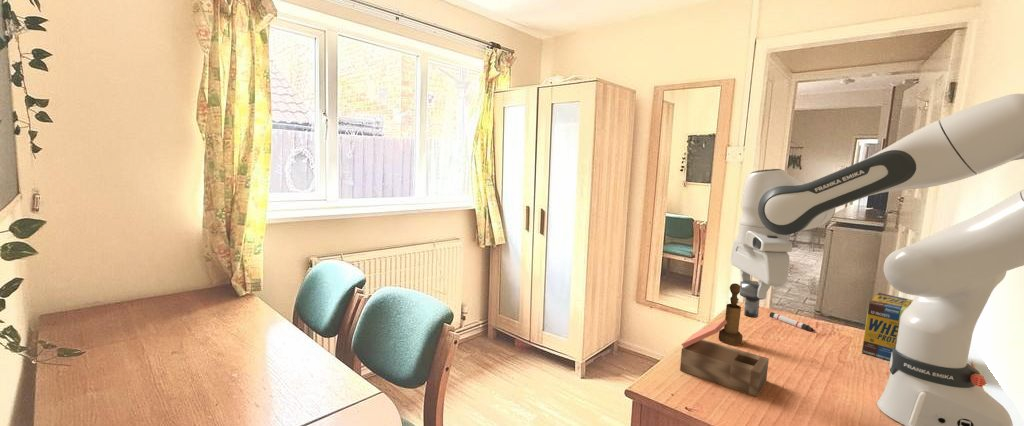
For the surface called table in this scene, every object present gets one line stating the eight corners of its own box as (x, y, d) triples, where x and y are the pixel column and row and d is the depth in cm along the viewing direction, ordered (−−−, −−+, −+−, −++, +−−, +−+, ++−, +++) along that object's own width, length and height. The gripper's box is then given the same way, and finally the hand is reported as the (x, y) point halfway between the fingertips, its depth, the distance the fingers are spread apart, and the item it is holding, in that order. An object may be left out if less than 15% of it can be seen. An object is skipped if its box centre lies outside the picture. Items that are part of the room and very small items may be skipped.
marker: (769, 317, 154) (769, 312, 153) (772, 317, 154) (773, 311, 154) (813, 334, 140) (814, 328, 139) (817, 333, 141) (817, 327, 140)
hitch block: (766, 380, 109) (768, 358, 108) (757, 396, 101) (759, 372, 100) (692, 357, 120) (694, 337, 119) (679, 370, 113) (681, 348, 112)
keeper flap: (727, 322, 113) (725, 319, 113) (717, 332, 106) (714, 328, 107) (695, 337, 119) (693, 334, 119) (683, 347, 112) (681, 344, 112)
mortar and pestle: (745, 346, 128) (751, 288, 126) (721, 344, 130) (727, 286, 127) (738, 337, 135) (743, 281, 132) (715, 335, 136) (721, 280, 134)
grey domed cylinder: (770, 318, 103) (772, 286, 102) (750, 320, 102) (753, 288, 101) (751, 310, 109) (753, 279, 108) (733, 312, 107) (735, 281, 106)
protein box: (861, 353, 126) (868, 302, 124) (871, 339, 136) (878, 292, 134) (909, 367, 118) (917, 313, 116) (916, 351, 128) (924, 301, 126)
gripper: (726, 229, 113) (722, 280, 115) (767, 245, 93) (760, 306, 95) (751, 230, 113) (746, 281, 115) (797, 246, 93) (790, 308, 94)
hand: (753, 293), depth 105 cm, fingers closed on grey domed cylinder, 6 cm apart
